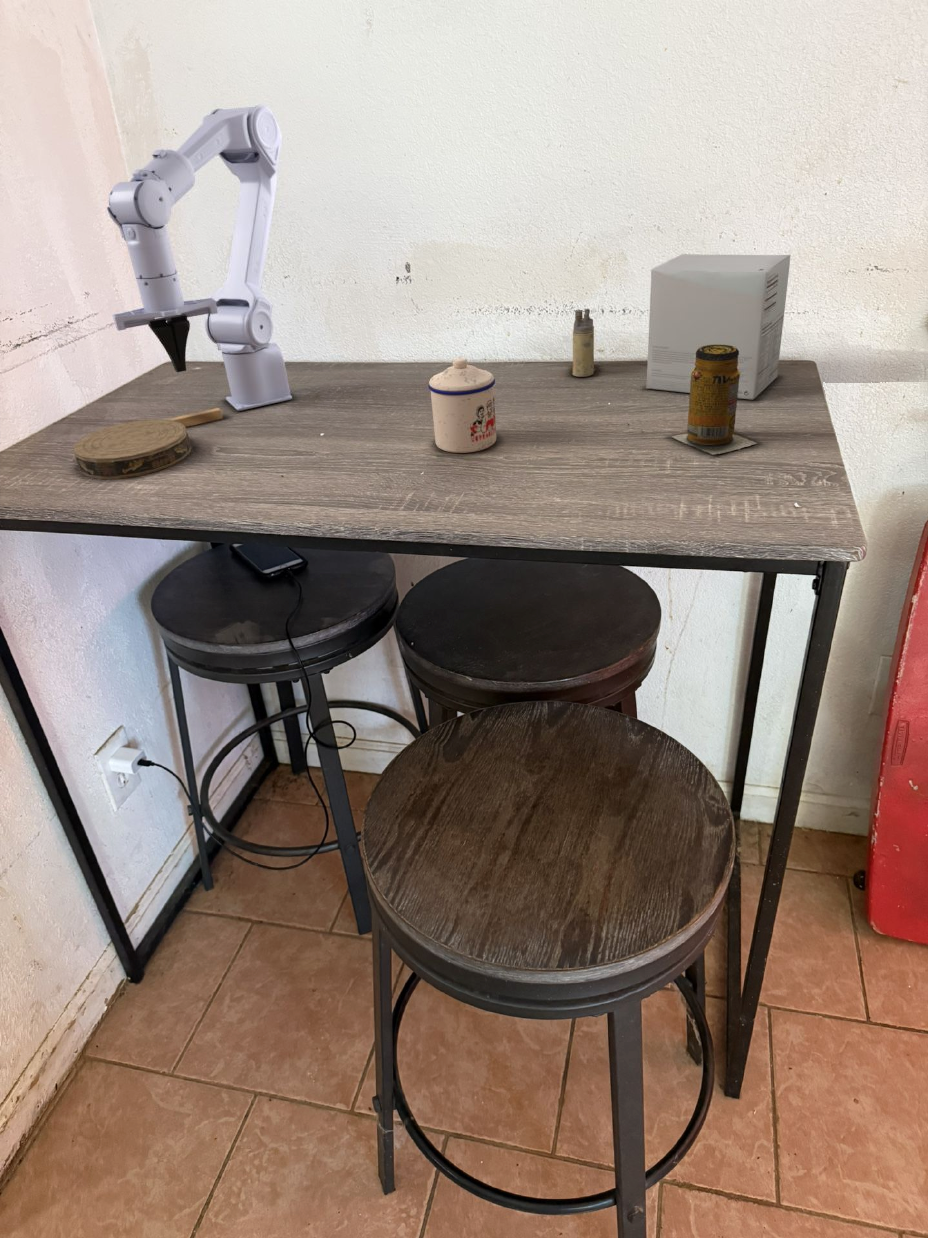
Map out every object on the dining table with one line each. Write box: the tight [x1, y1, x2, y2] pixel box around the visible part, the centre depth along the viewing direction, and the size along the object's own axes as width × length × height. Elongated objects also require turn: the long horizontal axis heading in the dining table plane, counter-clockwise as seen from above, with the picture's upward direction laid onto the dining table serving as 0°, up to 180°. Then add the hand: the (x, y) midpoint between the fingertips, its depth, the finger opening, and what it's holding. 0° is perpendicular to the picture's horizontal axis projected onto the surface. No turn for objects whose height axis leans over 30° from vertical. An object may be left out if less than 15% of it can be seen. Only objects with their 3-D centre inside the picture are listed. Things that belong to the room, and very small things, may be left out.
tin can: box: [72, 418, 192, 480], centre depth 123 cm, size 16×16×3 cm
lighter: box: [572, 307, 597, 378], centre depth 141 cm, size 7×4×10 cm, turn 171°
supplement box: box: [645, 253, 791, 400], centre depth 128 cm, size 17×13×18 cm
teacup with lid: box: [428, 357, 497, 454], centre depth 117 cm, size 12×9×12 cm
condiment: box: [671, 344, 757, 456], centre depth 109 cm, size 7×8×12 cm
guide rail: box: [164, 407, 223, 428], centre depth 133 cm, size 18×1×2 cm, turn 118°
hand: (180, 370), depth 128 cm, fingers closed
